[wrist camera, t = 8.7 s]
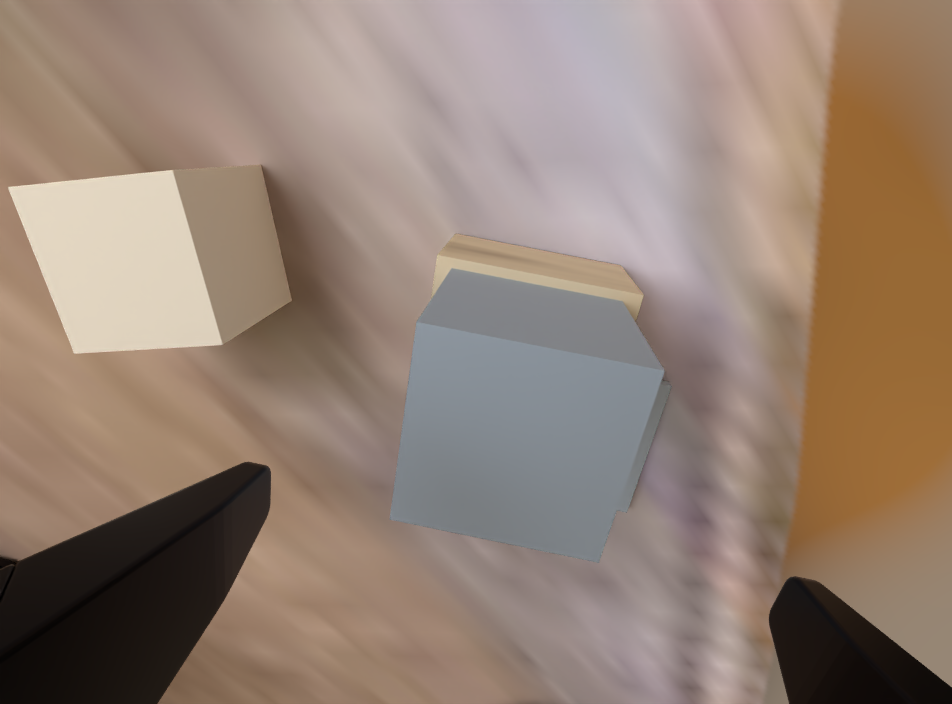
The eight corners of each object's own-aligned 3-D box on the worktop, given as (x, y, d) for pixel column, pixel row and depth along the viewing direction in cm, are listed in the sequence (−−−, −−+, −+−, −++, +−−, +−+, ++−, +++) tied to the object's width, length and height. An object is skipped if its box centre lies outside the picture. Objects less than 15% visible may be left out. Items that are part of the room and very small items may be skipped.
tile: (625, 506, 22) (627, 512, 22) (533, 487, 22) (533, 493, 22) (669, 381, 20) (671, 386, 19) (566, 361, 20) (567, 365, 20)
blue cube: (579, 447, 17) (598, 562, 12) (428, 417, 17) (389, 519, 12) (622, 301, 15) (664, 370, 10) (451, 267, 15) (416, 321, 10)
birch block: (579, 411, 21) (590, 469, 17) (432, 382, 21) (411, 432, 17) (620, 265, 18) (643, 295, 15) (455, 233, 19) (437, 254, 15)
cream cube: (292, 299, 20) (222, 345, 16) (175, 307, 21) (74, 353, 16) (262, 164, 18) (172, 170, 14) (134, 177, 19) (7, 187, 14)
